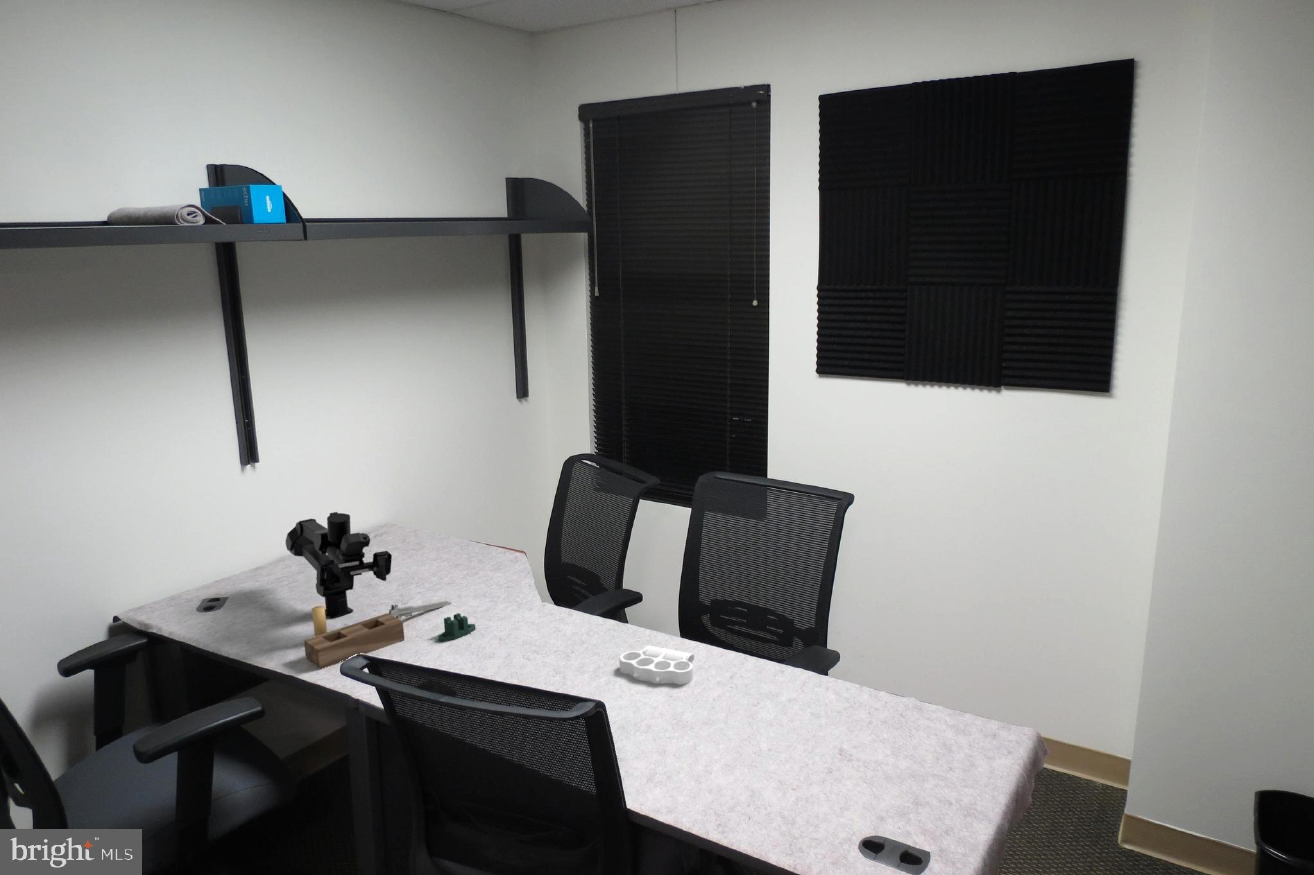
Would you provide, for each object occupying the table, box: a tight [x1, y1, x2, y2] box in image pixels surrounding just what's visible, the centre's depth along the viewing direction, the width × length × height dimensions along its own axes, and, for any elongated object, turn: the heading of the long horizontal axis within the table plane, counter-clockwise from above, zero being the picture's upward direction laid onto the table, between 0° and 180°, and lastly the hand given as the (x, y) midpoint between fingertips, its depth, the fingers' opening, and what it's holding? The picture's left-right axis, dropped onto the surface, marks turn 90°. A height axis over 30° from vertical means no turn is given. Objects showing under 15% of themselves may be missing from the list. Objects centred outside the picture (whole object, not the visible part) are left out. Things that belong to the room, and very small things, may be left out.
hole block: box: [303, 612, 405, 670], centre depth 223 cm, size 8×22×5 cm, turn 134°
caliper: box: [388, 599, 452, 621], centre depth 243 cm, size 20×1×6 cm, turn 144°
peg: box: [311, 605, 328, 637], centre depth 228 cm, size 3×3×9 cm
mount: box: [437, 613, 476, 643], centre depth 230 cm, size 11×4×5 cm, turn 137°
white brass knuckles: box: [618, 645, 695, 686], centre depth 208 cm, size 3×18×15 cm
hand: (368, 582), depth 224 cm, fingers open, 9 cm apart
